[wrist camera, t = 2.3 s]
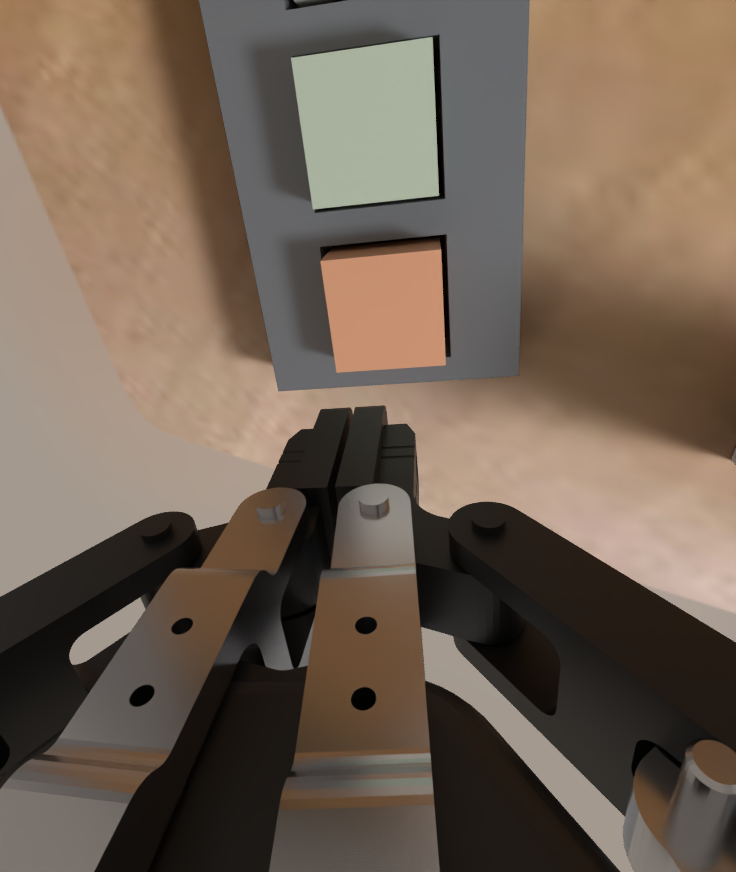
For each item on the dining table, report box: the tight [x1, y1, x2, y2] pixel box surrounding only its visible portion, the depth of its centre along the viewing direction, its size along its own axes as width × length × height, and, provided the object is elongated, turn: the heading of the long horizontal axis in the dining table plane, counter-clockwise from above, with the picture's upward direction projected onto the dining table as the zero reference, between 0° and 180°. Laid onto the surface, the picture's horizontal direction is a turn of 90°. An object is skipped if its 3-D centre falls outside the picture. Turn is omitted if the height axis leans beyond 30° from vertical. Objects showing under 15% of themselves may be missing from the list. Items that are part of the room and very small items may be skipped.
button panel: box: [199, 0, 529, 391], centre depth 23 cm, size 22×12×3 cm, turn 6°
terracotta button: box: [320, 237, 446, 373], centre depth 24 cm, size 5×5×3 cm
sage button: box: [291, 37, 439, 209], centre depth 21 cm, size 5×5×3 cm
